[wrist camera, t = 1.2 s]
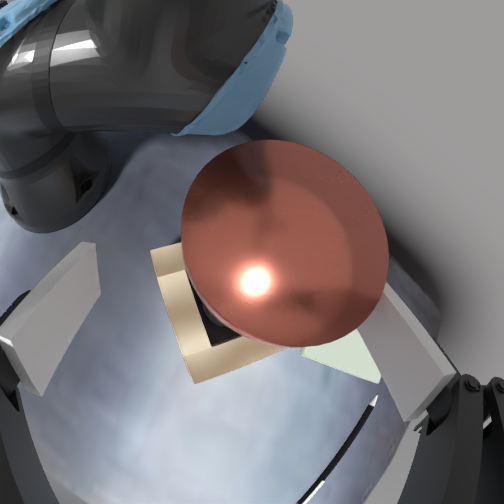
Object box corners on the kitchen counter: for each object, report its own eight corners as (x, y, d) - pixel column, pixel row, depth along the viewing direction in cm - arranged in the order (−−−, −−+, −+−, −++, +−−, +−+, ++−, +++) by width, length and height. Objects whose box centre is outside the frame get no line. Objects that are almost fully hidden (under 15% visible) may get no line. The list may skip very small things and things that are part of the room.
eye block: (152, 263, 26) (150, 250, 23) (258, 234, 31) (271, 220, 27) (191, 377, 24) (194, 384, 20) (297, 336, 28) (315, 334, 24)
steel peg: (171, 273, 27) (158, 156, 10) (252, 250, 30) (334, 135, 13) (199, 359, 24) (231, 387, 8) (282, 329, 27) (413, 294, 11)
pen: (287, 510, 21) (291, 514, 20) (373, 392, 29) (379, 393, 28) (292, 511, 21) (296, 515, 20) (377, 395, 29) (382, 396, 28)
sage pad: (299, 354, 28) (302, 354, 27) (332, 261, 32) (334, 259, 32) (375, 383, 29) (378, 383, 28) (397, 300, 34) (400, 299, 33)
